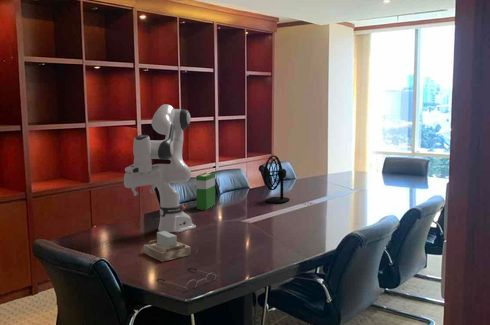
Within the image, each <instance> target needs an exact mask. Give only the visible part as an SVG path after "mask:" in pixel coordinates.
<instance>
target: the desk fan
mask: <svg viewBox="0 0 490 325" xmlns="http://www.w3.org/2000/svg"><path fill="white" fill-rule="evenodd" d="M273 163H274V164H275V165H274V167H273ZM264 164H265V165H264V168H263V173H262V177H263V181H264V184H265V186H266V188H267V189H268V191H269V190H270V191H276V190H277V188H278V187H279V186H280V187H279V188H280V190H279V191H280V193H279V196H271V197H268V198H266V199H265V200H264V201H265V203H268V202H269V203H270V204H283V203H286V202H289V201H290V200H291V199H290V198H289V197H284V179H286V177H287V170H286V169H285V168H283V166H282V162H281V161H280V158H279V157H278V156H277V155H274V154H273V155H270V156H269V158H268V159H267V160H266V162H265V163H264ZM268 165H269V167H268ZM271 169H272V170H271ZM270 173H271V174H270ZM277 177H278V180H277ZM272 180H273V182H271V181H272ZM275 184H276V185H275ZM274 185H275V186H274Z"/></svg>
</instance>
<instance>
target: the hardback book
mask: <svg viewBox="0 0 490 325" xmlns="http://www.w3.org/2000/svg"><path fill="white" fill-rule="evenodd" d="M195 178H196V183H195V184H196V187H195V188H196V190H195V191H196V210H197V209H203V210H202V211H208V210H209V209H208V208H210V207H211V208H213V207H214V206H213V205H215V206H216V172H212V173H207V172H204V173H200V174H198V175H196V176H195ZM212 206H213V207H212ZM211 208H210V209H211ZM207 209H208V210H207Z"/></svg>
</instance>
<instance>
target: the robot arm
mask: <svg viewBox="0 0 490 325" xmlns="http://www.w3.org/2000/svg"><path fill="white" fill-rule="evenodd" d="M191 119H192V118H191V113H190V111H189V110H187V109H185V108H181V109H179V108H174V107H173V106H172V105H170V104H167V103H164V104H162V105H161V106H160V107H158V108H157V110H156V111H155V112H154V114H153V116H152V119H151V126H152V129H153V130H154V131H155V132H156V133H157V134H159V135H163V136H165V138H164V139H162V140H161V139H159V140H158V139H157V140H151V138H150V136H149V135H148V134H140V135H136V136H135V137H134V139H133V145H132V146H133V152H132V153H133V158H134V159H133V164H131V165H129V166H127V167H125V168H124V171H125V172H124V176H123V186H124V187H125V188H127V189H131V191H132V194H133V197H136V196H138V195H139V192H138V191H136V188H138V187H146V186H151V189H150V188H149V193H150V194H154V193H155V189H156V188H157V190H158V193H159V200H160V201H159V202H160V204H159V216H160V218H159V224H158V228H157V230H158V232H161V231H166V232H169V233H182V232H185V231H189V230H192V229H196V228H197V225H196V224H194V223H193V221H192V218H191V216H190V215H188V214H187V213H186V212H184V211H183V210H185V209H186V206H185V205H181V204H180V193H179V191H178V190H177V189H175V188H173V187H172V186H171V184H172V183H173V184H181V183H182V184H183V183H187V182H188V181H189V180H190V179H191V177H192V171H191V170H192V169H191V168H190V167H189V166H188V165H187V164H186V162H185V161H184V160H183V146H184V131H185V130H186V129H187V128H188V127H189V125H190V124H191V121H192V120H191ZM152 160H164V161H165V160H166V161H167V160H169V161H170V163H156V164H153V163H152V162H153V161H152Z"/></svg>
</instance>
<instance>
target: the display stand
mask: <svg viewBox="0 0 490 325" xmlns="http://www.w3.org/2000/svg"><path fill="white" fill-rule="evenodd" d="M142 248H143V254H145V255H147V256H149V257H151V258H153V259H155V260H158V261H160V262H161V263H162V262H167V261H170V260H176V259H179V258H183V257H187V256H191V255H192V253H191V252H192V251H191V249H192V248H191V246H189V245H187V244H184V243H182V242H179V241H177V246H174V247H170V248H164V247H162V246H160V245H158V244H157V239H153V240H149V241H148V244H144V245H142Z"/></svg>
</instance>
